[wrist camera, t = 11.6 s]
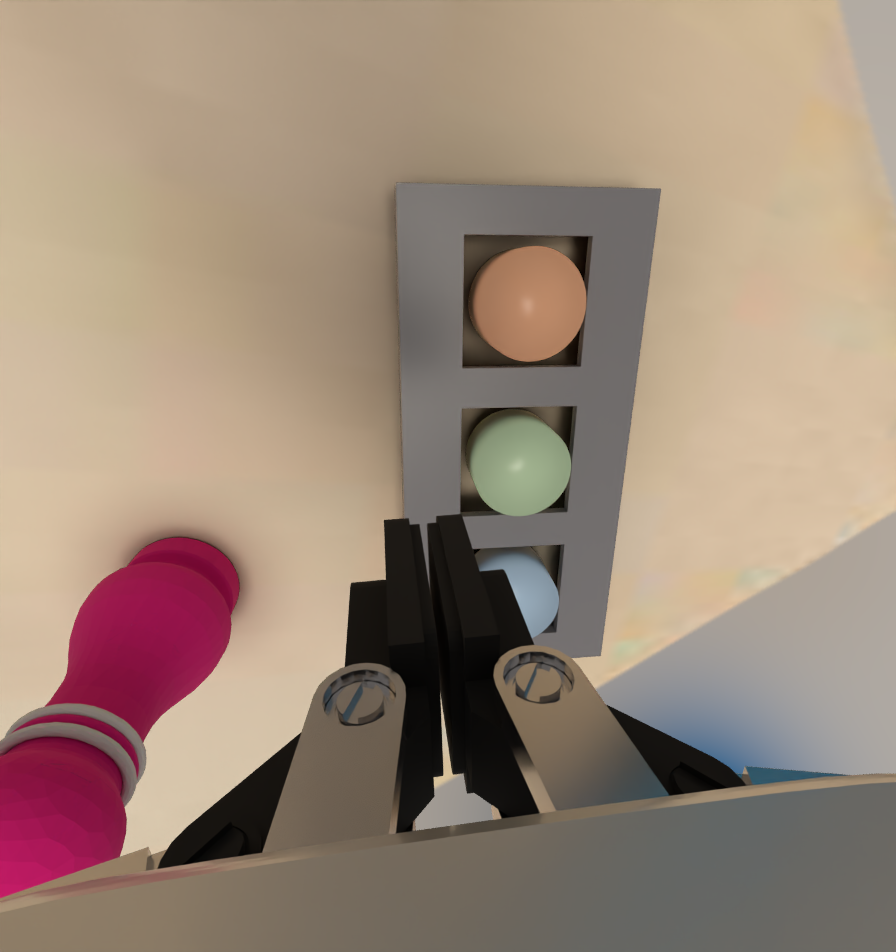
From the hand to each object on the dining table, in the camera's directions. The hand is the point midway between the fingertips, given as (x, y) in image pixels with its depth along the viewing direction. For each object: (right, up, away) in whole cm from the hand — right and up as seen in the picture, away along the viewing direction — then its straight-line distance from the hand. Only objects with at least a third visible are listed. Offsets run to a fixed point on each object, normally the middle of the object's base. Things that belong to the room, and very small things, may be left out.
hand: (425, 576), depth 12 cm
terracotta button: (+4, +11, +15) cm, 19 cm away
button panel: (+4, +4, +20) cm, 20 cm away
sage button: (+4, +4, +18) cm, 19 cm away
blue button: (+4, -4, +21) cm, 22 cm away
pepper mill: (-15, -4, +21) cm, 26 cm away
